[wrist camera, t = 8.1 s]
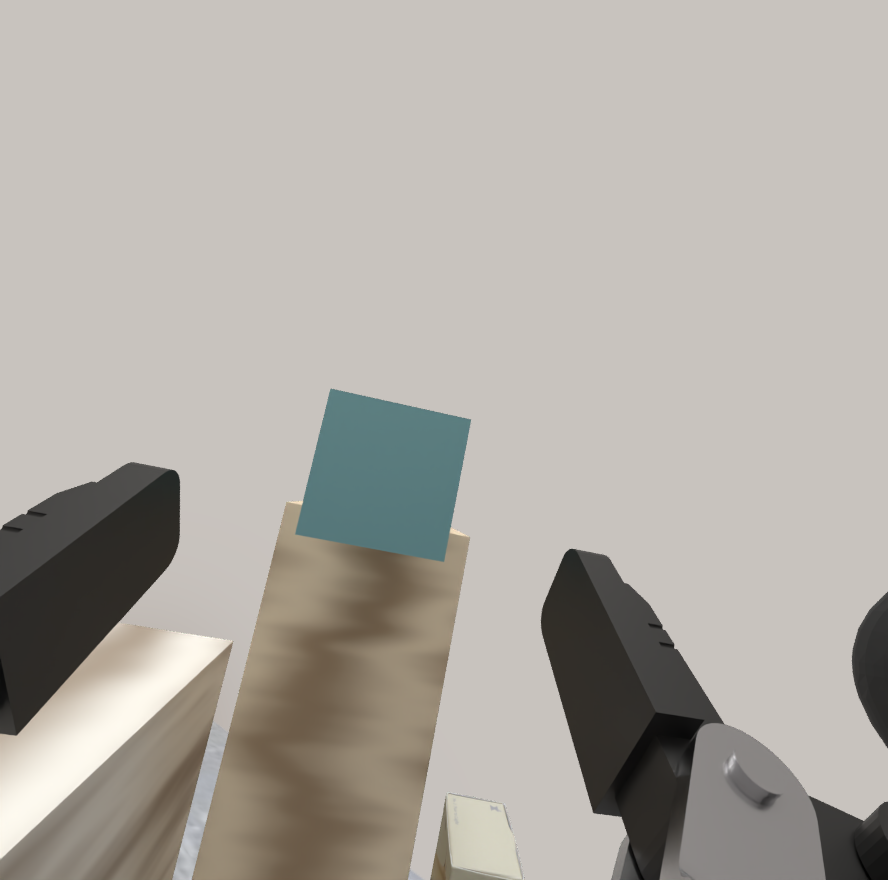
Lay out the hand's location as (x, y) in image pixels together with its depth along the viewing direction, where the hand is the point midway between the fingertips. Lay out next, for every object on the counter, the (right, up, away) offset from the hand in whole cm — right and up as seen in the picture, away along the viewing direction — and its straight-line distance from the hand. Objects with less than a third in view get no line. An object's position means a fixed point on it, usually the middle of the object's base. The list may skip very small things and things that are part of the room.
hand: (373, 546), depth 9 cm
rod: (-2, -2, +12) cm, 13 cm away
